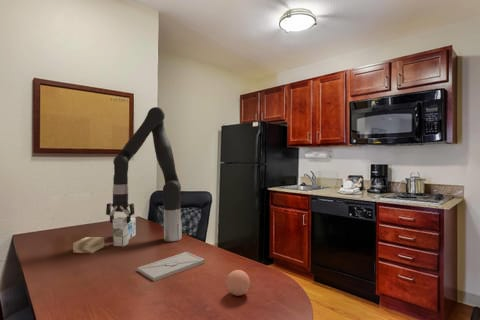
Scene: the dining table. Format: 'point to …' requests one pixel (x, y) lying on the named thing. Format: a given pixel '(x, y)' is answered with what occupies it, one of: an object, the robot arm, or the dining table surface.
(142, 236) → the dining table surface
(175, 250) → the dining table surface
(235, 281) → the toy ball
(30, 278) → the dining table surface
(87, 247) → the maple block
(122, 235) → the syrup box
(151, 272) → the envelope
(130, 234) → the light bulb box
